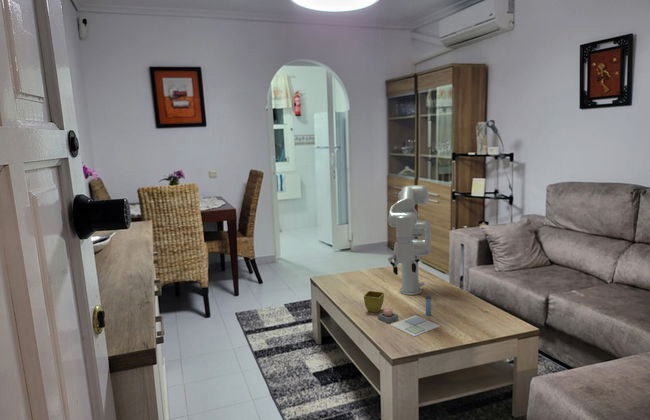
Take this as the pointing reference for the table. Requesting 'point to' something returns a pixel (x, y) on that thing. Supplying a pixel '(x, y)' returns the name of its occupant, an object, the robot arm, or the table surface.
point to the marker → (428, 305)
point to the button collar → (388, 319)
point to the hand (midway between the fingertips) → (404, 273)
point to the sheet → (415, 325)
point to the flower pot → (373, 301)
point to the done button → (388, 312)
